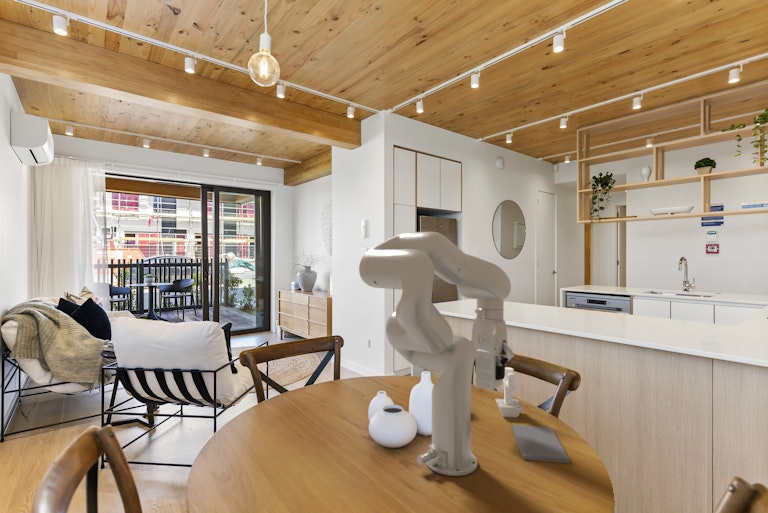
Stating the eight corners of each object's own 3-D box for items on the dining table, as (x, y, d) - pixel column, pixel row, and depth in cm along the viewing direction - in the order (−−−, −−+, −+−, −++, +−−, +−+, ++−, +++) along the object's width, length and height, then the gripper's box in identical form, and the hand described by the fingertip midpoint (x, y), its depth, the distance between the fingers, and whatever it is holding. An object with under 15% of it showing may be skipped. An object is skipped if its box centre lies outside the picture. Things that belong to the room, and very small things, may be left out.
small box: (485, 380, 119) (485, 345, 119) (503, 383, 116) (503, 347, 116) (474, 386, 112) (475, 349, 113) (493, 390, 109) (494, 352, 109)
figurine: (516, 408, 130) (516, 363, 130) (524, 421, 121) (524, 372, 121) (494, 408, 131) (494, 363, 131) (500, 420, 121) (500, 372, 121)
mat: (569, 463, 97) (569, 459, 97) (523, 459, 98) (523, 455, 98) (550, 430, 114) (550, 427, 114) (511, 428, 116) (511, 424, 116)
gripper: (459, 312, 119) (458, 370, 119) (506, 319, 105) (506, 386, 105) (475, 310, 123) (475, 367, 123) (523, 317, 109) (523, 381, 109)
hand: (489, 375), depth 114 cm, fingers closed on small box, 6 cm apart
